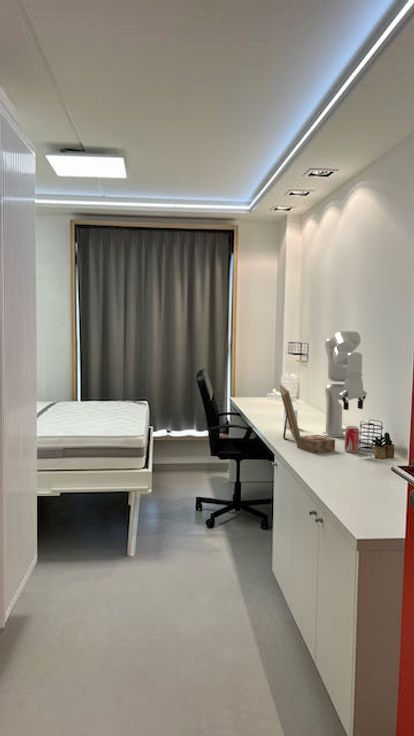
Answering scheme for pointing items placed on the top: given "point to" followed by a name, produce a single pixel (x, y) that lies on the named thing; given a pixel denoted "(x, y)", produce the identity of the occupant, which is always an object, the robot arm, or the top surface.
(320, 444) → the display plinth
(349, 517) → the top surface
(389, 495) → the top surface
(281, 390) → the picture frame
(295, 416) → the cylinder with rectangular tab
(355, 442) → the soda can
